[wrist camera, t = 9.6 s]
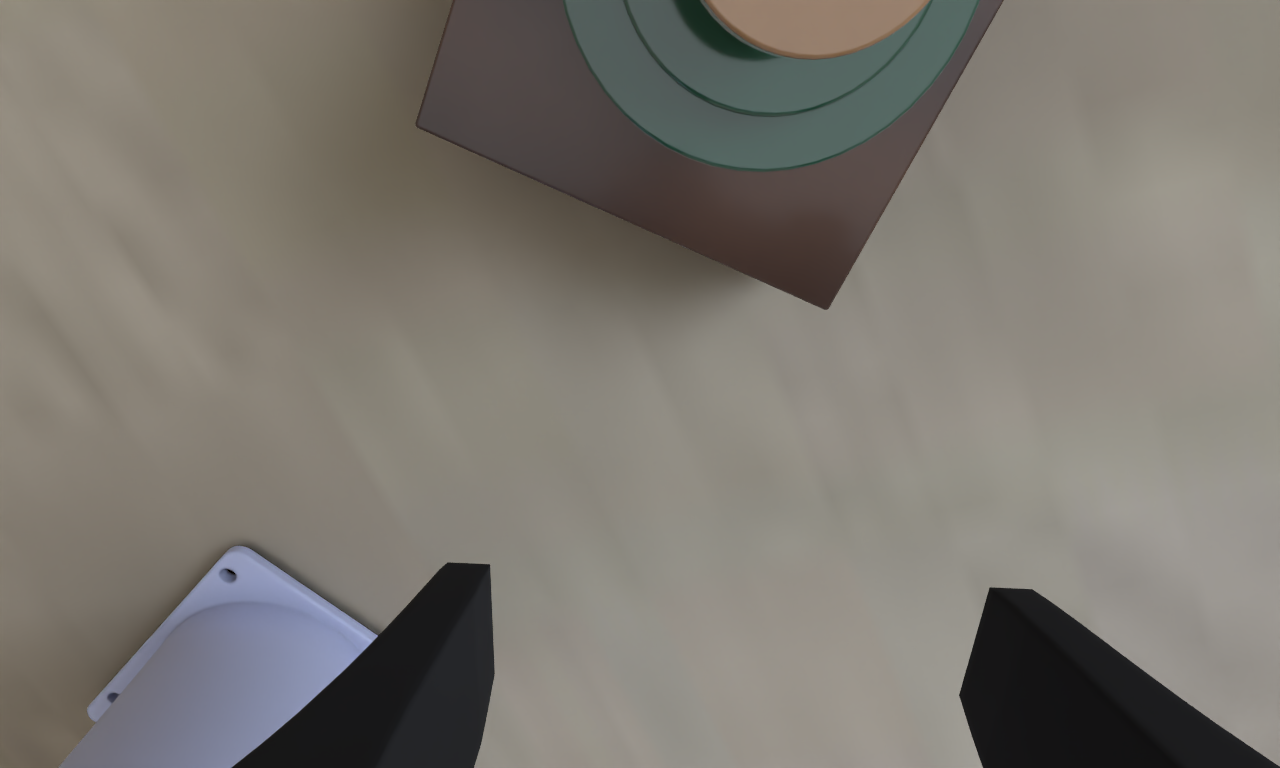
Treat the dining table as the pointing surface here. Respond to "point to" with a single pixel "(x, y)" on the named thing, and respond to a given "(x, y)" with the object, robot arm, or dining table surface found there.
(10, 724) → the dining table surface
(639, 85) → the bottle
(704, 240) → the block
